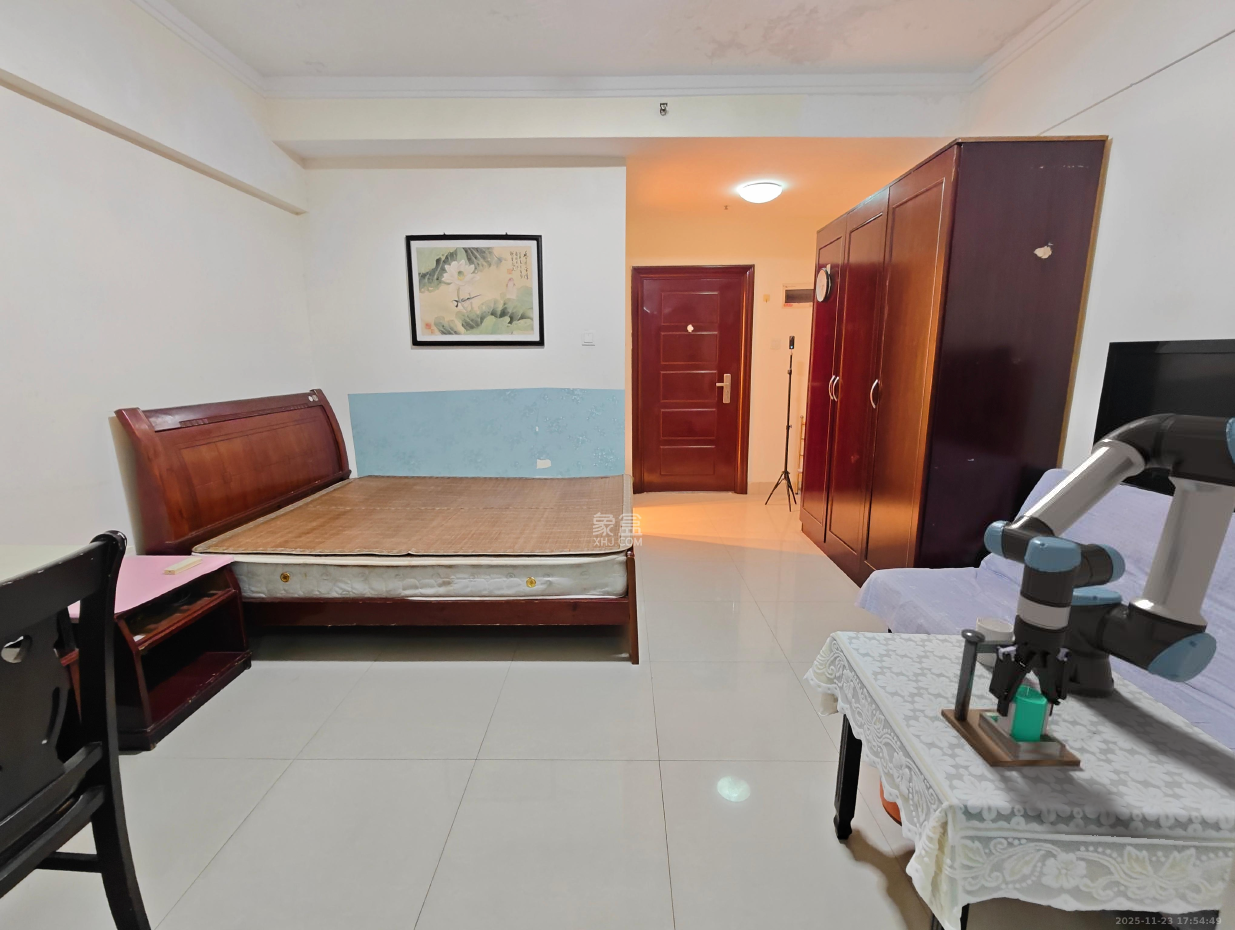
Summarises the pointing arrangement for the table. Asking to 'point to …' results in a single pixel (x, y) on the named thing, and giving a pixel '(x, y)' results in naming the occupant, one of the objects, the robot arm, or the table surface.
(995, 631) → the white cup
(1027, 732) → the candle
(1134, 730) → the table surface
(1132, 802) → the table surface
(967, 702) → the bar
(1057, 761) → the board
